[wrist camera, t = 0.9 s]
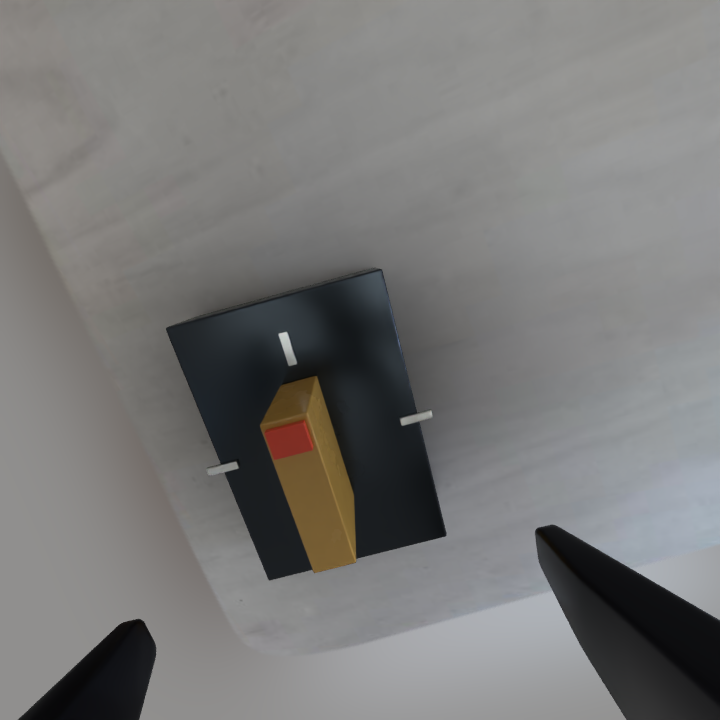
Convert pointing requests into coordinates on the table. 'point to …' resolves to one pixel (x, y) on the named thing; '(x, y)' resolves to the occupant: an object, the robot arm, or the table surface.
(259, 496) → the block
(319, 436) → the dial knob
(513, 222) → the table surface
